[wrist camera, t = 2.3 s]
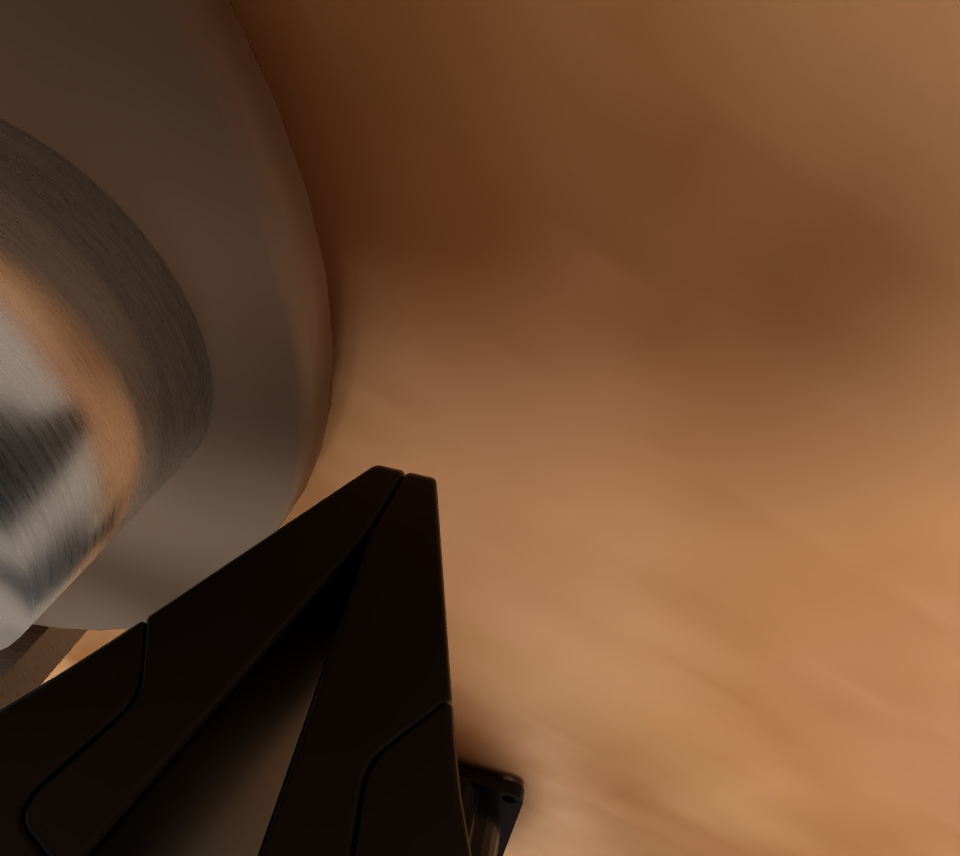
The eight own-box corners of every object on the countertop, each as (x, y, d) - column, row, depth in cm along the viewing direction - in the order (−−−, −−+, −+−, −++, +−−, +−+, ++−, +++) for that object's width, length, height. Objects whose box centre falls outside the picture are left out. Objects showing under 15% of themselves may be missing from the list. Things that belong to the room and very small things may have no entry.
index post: (102, 612, 21) (-56, 797, 16) (60, 601, 21) (-109, 780, 16) (89, 582, 20) (-83, 769, 15) (45, 571, 20) (-139, 752, 15)
